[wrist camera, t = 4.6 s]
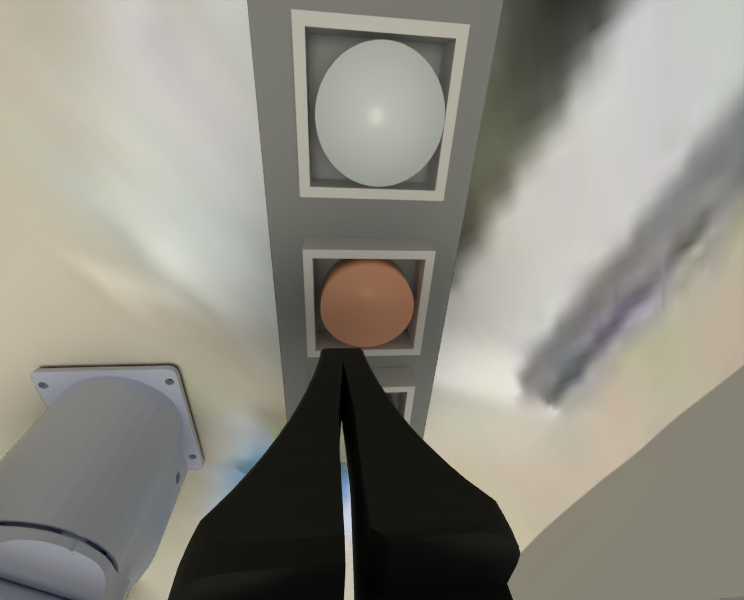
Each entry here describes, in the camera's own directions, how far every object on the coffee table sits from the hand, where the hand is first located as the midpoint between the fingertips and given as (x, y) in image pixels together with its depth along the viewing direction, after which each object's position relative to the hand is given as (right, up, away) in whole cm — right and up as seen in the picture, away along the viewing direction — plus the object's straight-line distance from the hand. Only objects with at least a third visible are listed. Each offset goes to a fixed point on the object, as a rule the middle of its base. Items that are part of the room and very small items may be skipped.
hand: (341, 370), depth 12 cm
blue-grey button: (+1, +9, +1) cm, 9 cm away
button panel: (0, +4, +8) cm, 9 cm away
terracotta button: (+1, +3, +6) cm, 6 cm away
